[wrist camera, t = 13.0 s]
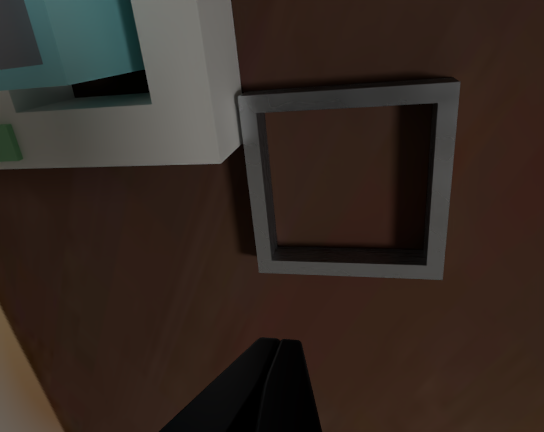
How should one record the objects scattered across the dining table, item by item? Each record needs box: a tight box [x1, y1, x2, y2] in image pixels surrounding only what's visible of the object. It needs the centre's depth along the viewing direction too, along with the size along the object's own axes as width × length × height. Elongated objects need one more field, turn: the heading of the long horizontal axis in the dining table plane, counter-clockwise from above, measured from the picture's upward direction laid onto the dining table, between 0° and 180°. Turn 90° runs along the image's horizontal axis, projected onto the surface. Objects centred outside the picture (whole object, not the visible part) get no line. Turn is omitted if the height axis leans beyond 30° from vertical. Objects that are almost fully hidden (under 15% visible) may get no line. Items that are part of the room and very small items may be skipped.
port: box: [0, 0, 243, 169], centre depth 17 cm, size 12×12×4 cm
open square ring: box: [238, 77, 460, 280], centre depth 19 cm, size 9×9×2 cm
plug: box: [0, 0, 145, 91], centre depth 15 cm, size 4×4×9 cm
